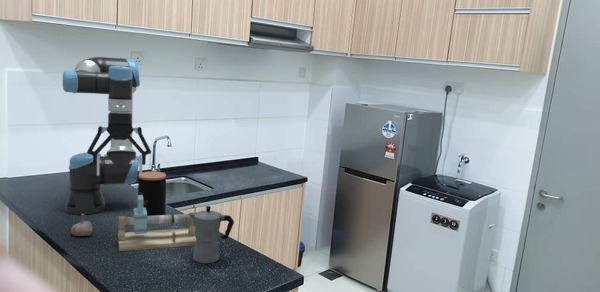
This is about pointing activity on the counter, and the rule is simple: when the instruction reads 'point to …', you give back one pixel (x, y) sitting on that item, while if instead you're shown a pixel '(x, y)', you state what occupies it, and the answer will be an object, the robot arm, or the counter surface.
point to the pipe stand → (156, 233)
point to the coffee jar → (153, 192)
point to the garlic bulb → (82, 228)
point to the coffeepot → (208, 234)
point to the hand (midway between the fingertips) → (119, 174)
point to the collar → (140, 217)
